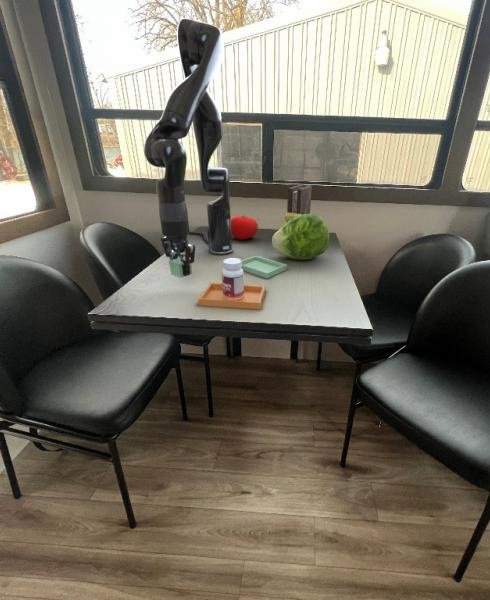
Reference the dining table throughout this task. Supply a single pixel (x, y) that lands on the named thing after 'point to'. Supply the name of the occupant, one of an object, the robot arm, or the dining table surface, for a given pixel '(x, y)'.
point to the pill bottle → (233, 279)
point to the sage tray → (262, 266)
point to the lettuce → (302, 237)
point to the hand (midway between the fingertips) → (181, 272)
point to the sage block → (177, 267)
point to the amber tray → (216, 298)
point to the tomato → (243, 227)
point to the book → (298, 201)
